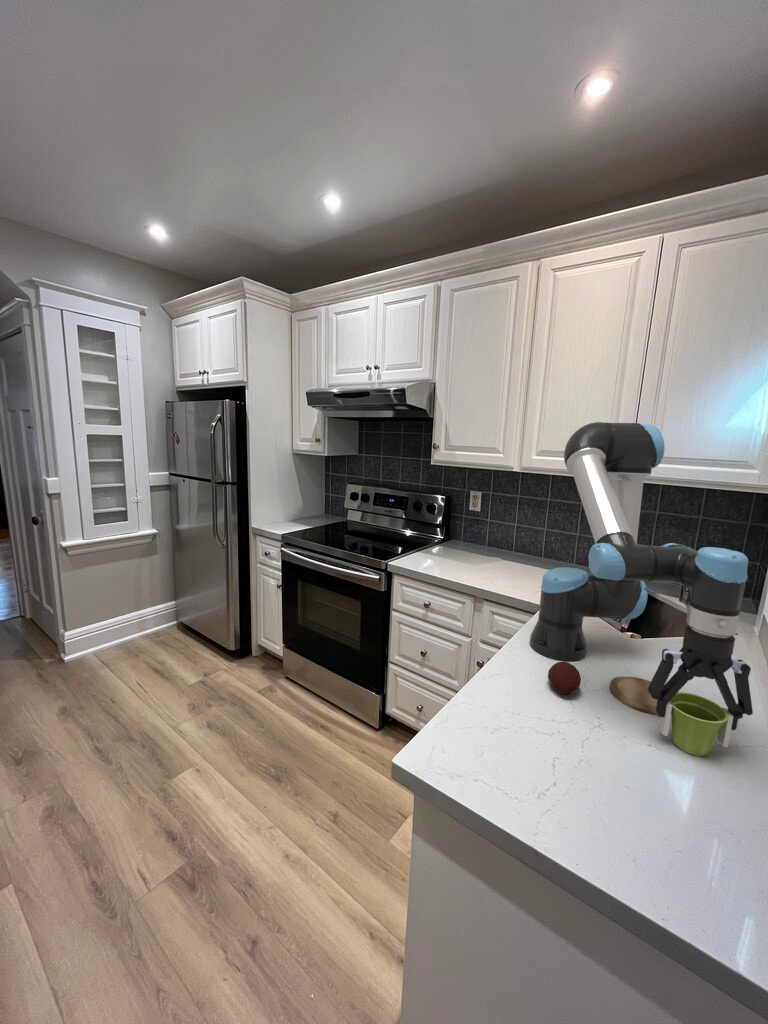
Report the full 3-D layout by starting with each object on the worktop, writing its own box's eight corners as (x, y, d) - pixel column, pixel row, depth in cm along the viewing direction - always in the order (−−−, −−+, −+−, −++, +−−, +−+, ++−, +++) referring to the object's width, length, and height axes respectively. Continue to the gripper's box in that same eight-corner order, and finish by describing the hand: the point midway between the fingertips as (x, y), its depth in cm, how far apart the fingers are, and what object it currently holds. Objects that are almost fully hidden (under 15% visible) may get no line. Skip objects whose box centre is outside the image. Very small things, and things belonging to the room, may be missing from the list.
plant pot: (723, 771, 77) (731, 728, 76) (662, 750, 82) (669, 709, 81) (716, 741, 85) (724, 702, 84) (661, 724, 90) (667, 686, 88)
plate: (617, 707, 95) (618, 703, 95) (603, 675, 108) (604, 671, 108) (689, 720, 91) (689, 716, 91) (665, 686, 105) (666, 681, 104)
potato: (576, 681, 105) (579, 658, 104) (582, 704, 96) (585, 679, 95) (545, 675, 108) (548, 653, 107) (548, 697, 98) (550, 673, 97)
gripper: (650, 629, 79) (634, 736, 83) (794, 648, 73) (770, 763, 77) (638, 614, 86) (624, 713, 90) (768, 630, 80) (748, 736, 84)
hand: (691, 736), depth 83 cm, fingers closed on plant pot, 9 cm apart
